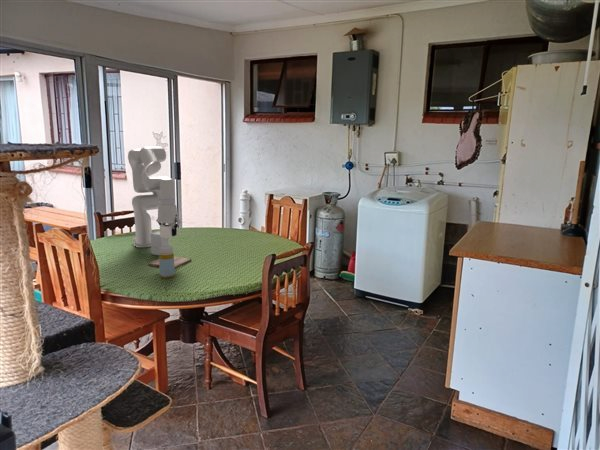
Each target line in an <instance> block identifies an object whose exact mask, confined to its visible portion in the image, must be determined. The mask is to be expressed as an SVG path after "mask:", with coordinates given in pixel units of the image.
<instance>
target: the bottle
mask: <svg viewBox="0 0 600 450" xmlns="http://www.w3.org/2000/svg"><path fill="white" fill-rule="evenodd" d="M159 250H160V255H158V259H159V267H158V268H159V277H160V278H161V279H172V278H173V277H174V276H176V273H175V272H176V271H175V270H176V268H175V267H174V257H175V254H174V255H173V253H174V248H173V246H172V245H169V246H161V247H160V248H159Z"/></svg>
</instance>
